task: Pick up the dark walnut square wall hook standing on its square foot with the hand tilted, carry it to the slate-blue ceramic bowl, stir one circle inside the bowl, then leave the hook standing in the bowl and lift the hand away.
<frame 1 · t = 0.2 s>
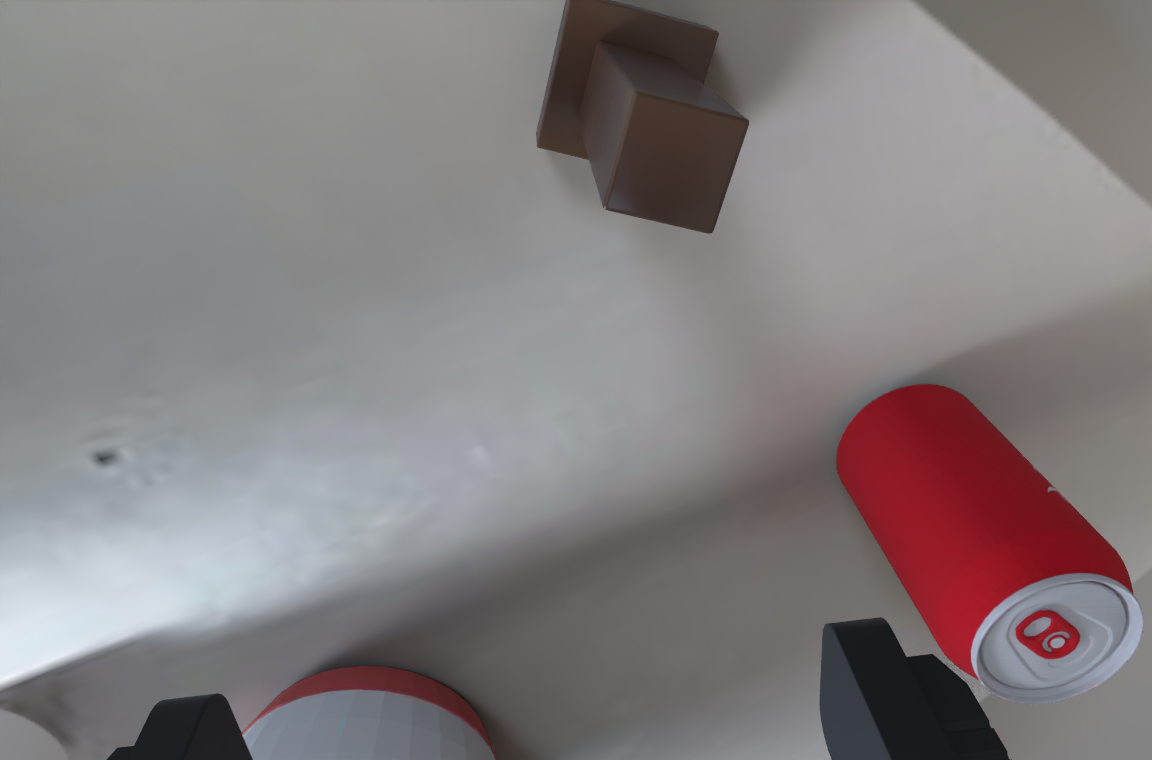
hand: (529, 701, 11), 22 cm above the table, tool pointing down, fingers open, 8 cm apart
square wall hook: (619, 81, 29), on the table
beverage can: (900, 436, 36), on the table
citrus juicer: (359, 742, 43), on the table
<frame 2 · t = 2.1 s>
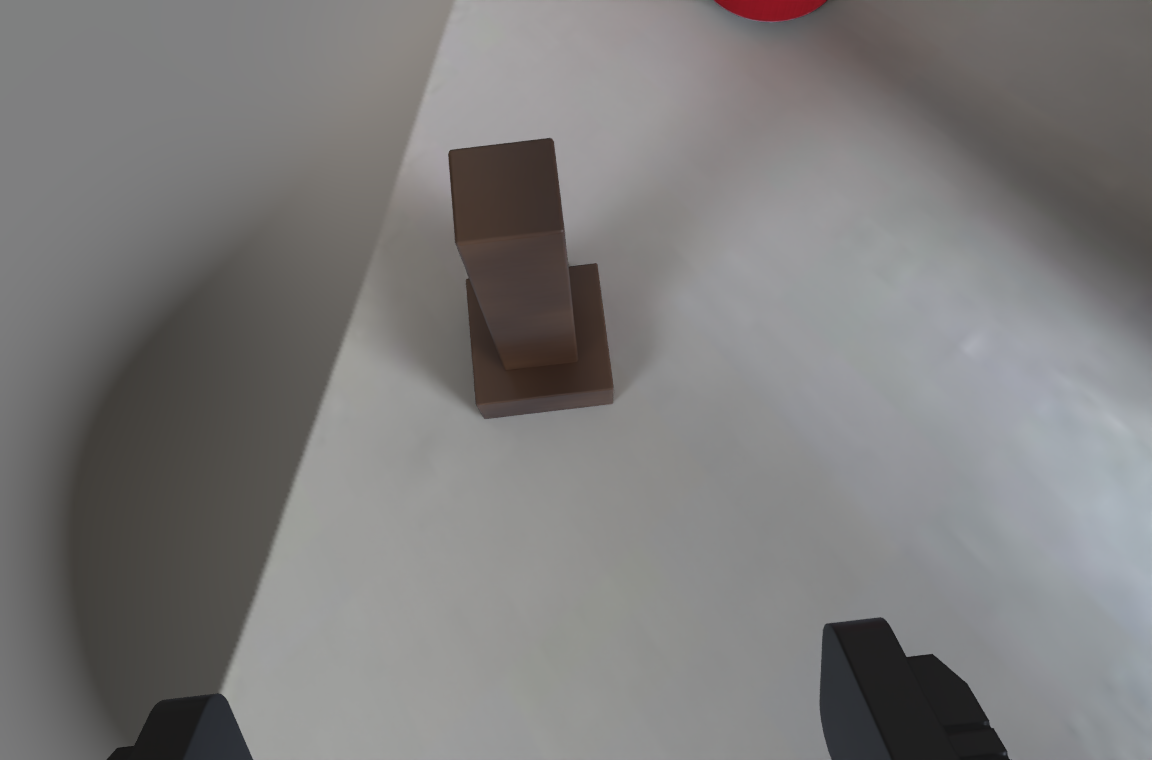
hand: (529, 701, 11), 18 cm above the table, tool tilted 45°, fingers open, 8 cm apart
square wall hook: (542, 350, 32), on the table
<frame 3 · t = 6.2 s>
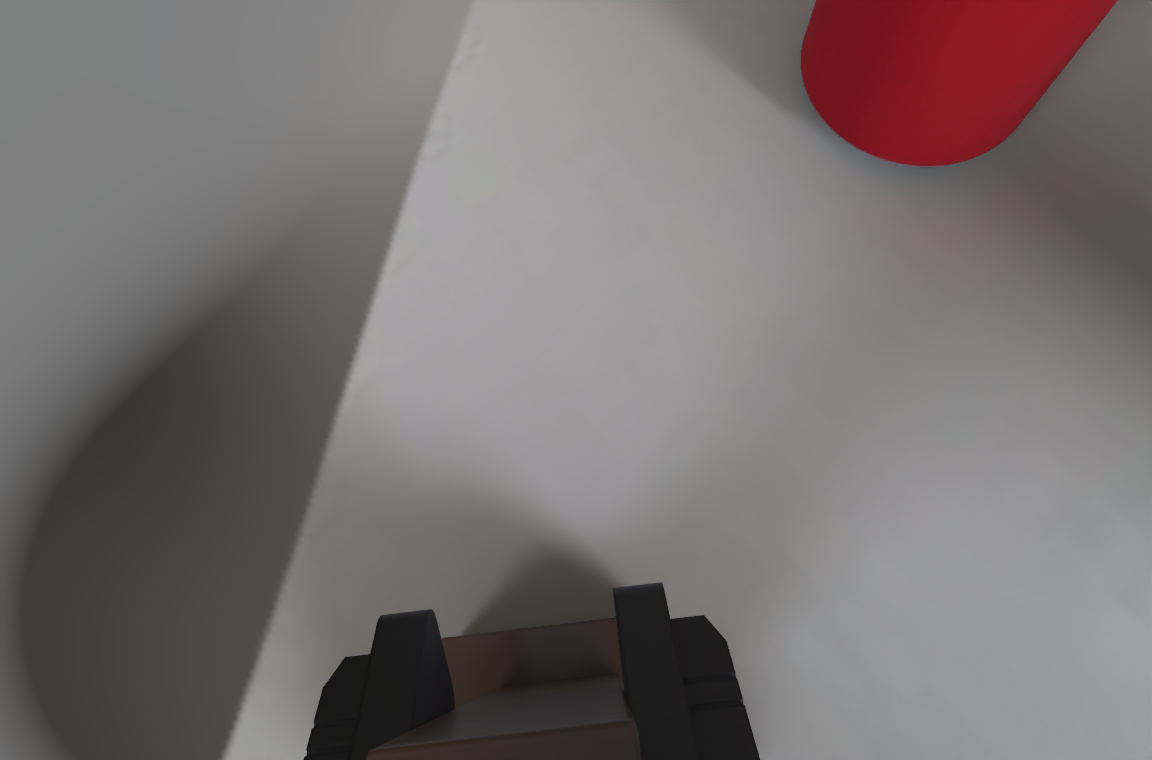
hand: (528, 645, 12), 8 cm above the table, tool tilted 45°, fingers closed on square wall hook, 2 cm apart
square wall hook: (569, 735, 19), on the table, touching gripper
beverage can: (903, 88, 24), on the table
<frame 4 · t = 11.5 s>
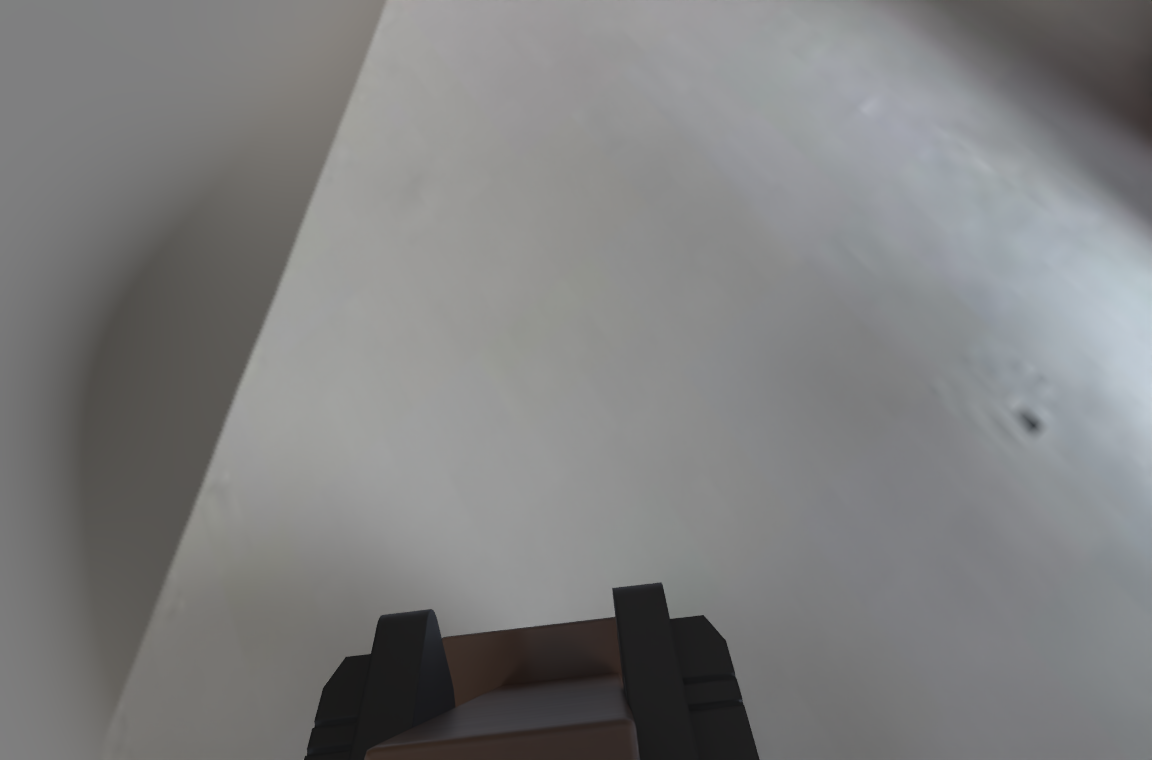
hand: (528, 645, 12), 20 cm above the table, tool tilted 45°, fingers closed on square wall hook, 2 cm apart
square wall hook: (569, 735, 19), point 12 cm above the table, touching gripper
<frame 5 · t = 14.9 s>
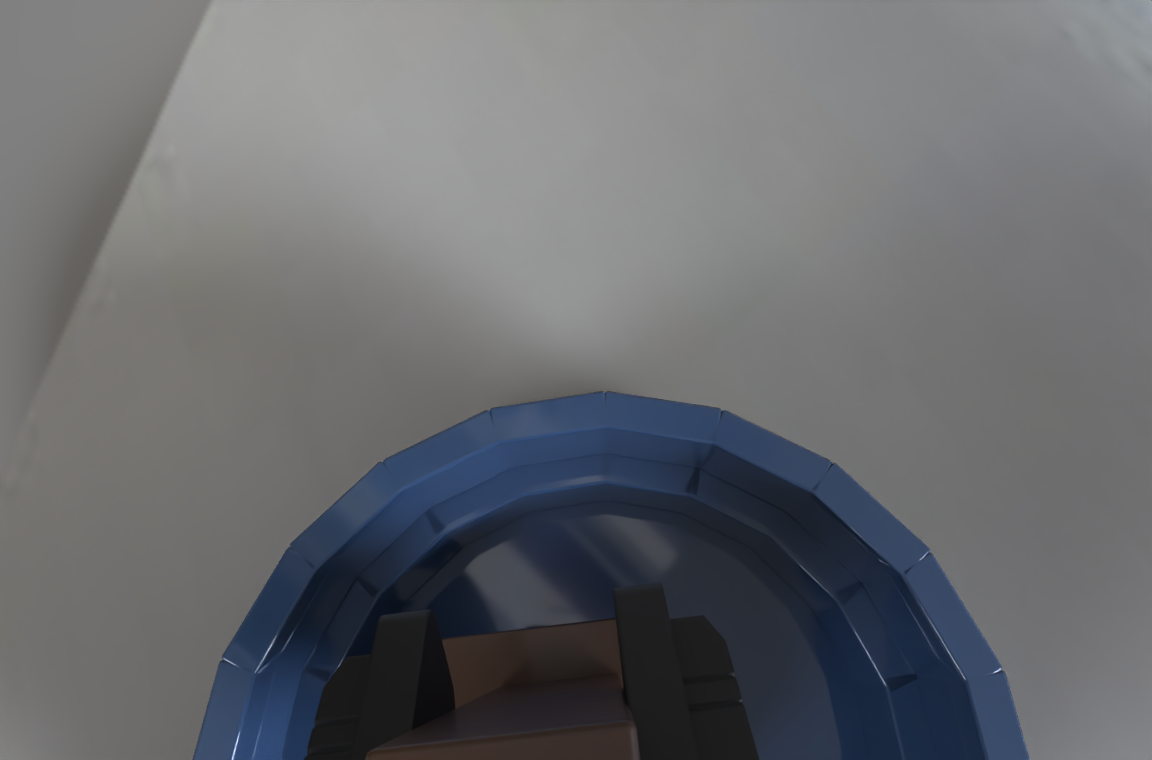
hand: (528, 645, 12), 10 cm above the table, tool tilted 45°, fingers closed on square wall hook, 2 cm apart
square wall hook: (569, 735, 19), point 2 cm above the table, touching gripper
bowl: (606, 758, 21), on the table
when the fingers open (8 cm above the table, at t = 17.2 s): square wall hook stays where it is, resting on bowl.
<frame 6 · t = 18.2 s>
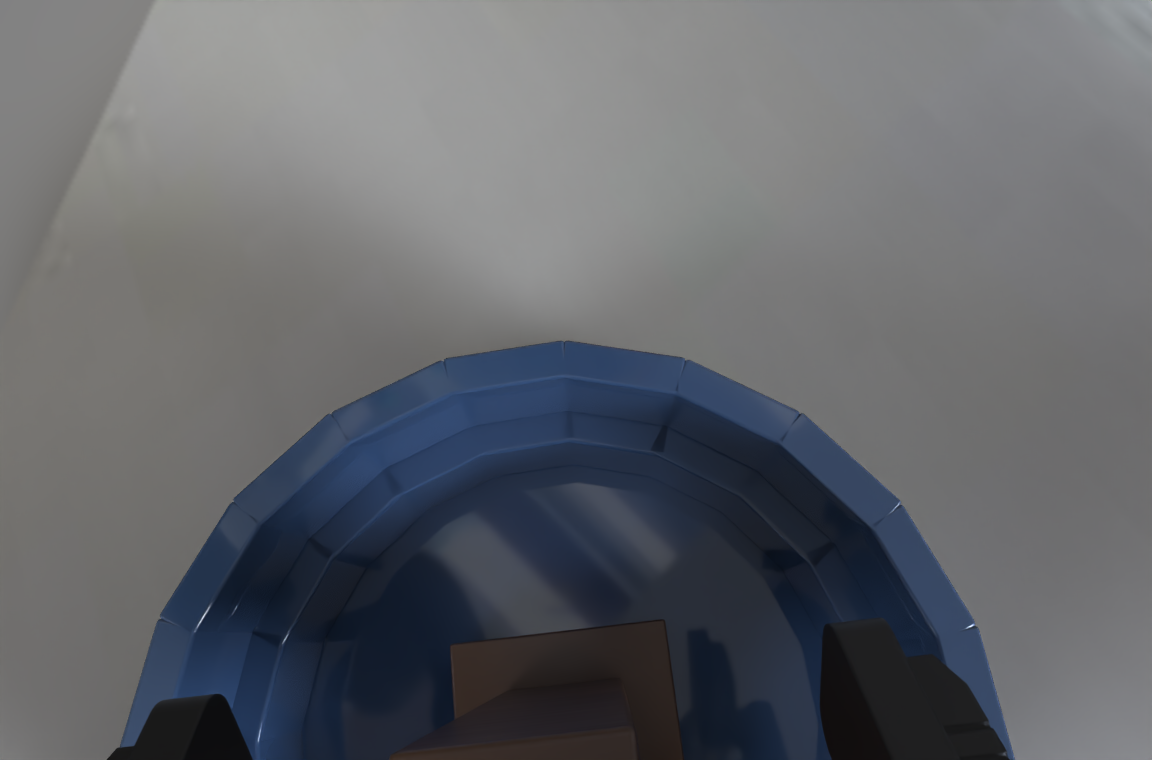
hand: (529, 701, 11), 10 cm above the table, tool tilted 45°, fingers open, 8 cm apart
square wall hook: (572, 737, 20), point 1 cm above the table, touching bowl
bowl: (572, 729, 20), on the table
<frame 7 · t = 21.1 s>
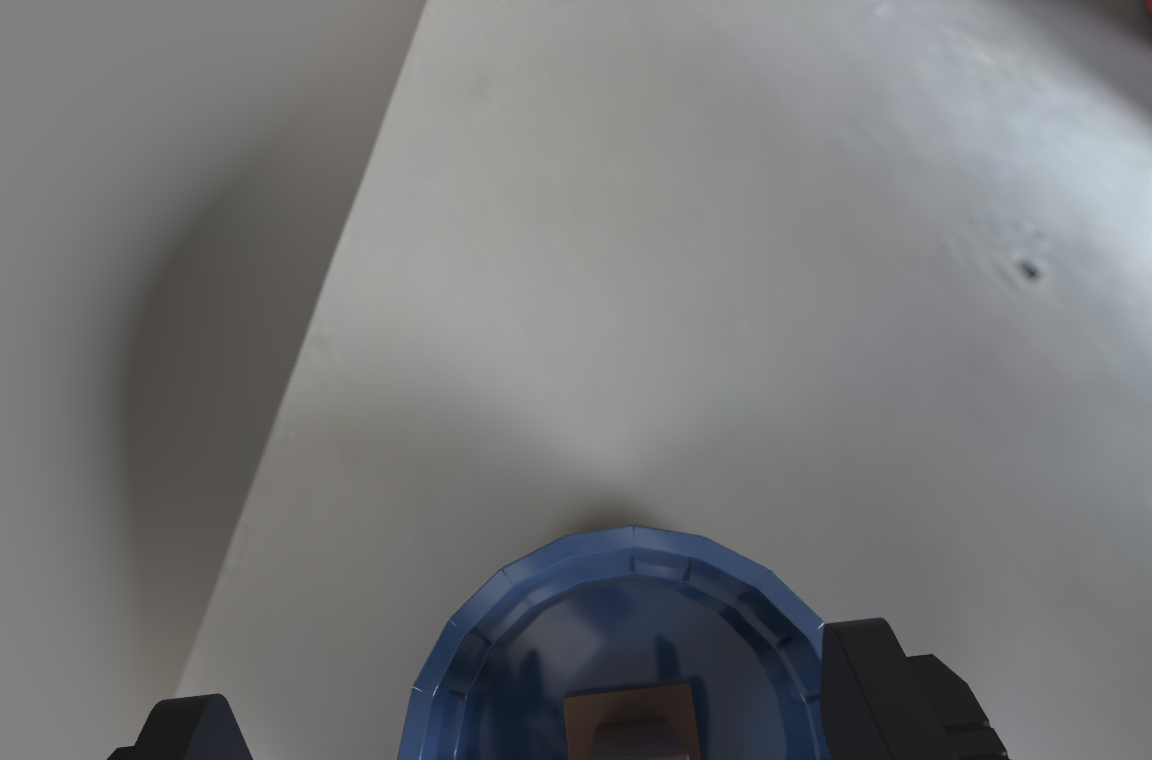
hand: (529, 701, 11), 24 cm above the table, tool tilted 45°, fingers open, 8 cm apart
square wall hook: (633, 752, 32), point 1 cm above the table, touching bowl
bowl: (632, 747, 33), on the table
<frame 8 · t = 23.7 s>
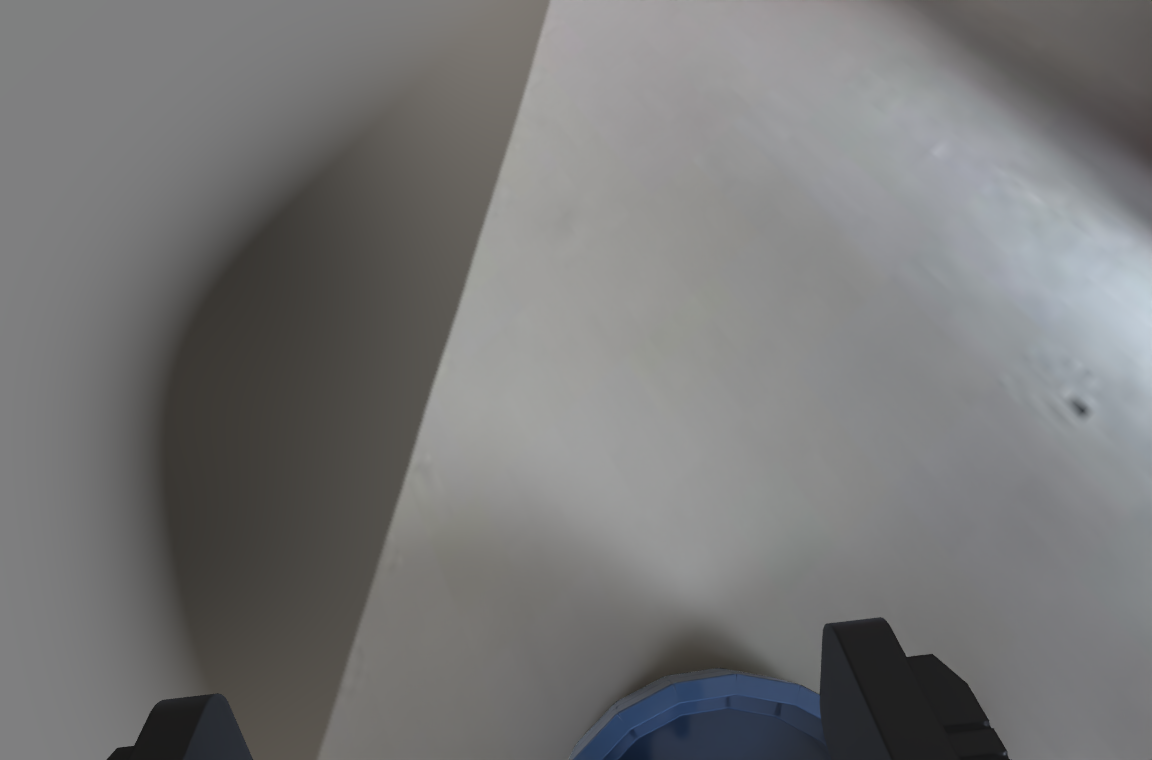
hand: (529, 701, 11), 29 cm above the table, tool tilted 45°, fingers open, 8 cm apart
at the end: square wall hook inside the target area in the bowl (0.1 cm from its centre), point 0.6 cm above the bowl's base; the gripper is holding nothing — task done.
